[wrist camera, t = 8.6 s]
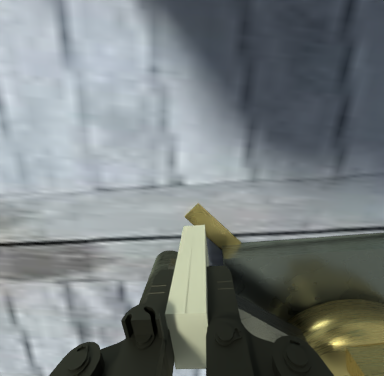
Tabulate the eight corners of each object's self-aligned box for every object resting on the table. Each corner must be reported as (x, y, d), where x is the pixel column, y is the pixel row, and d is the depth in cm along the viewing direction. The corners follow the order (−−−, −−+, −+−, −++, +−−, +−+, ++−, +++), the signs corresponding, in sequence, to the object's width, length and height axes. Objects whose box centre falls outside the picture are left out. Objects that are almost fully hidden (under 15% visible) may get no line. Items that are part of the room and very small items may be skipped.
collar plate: (183, 204, 15) (180, 214, 13) (467, 178, 14) (510, 186, 12) (209, 398, 22) (210, 424, 20) (406, 398, 20) (427, 425, 18)
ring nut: (123, 307, 16) (84, 392, 11) (200, 190, 13) (198, 229, 7) (343, 419, 18) (400, 534, 13) (454, 344, 15) (588, 456, 10)
